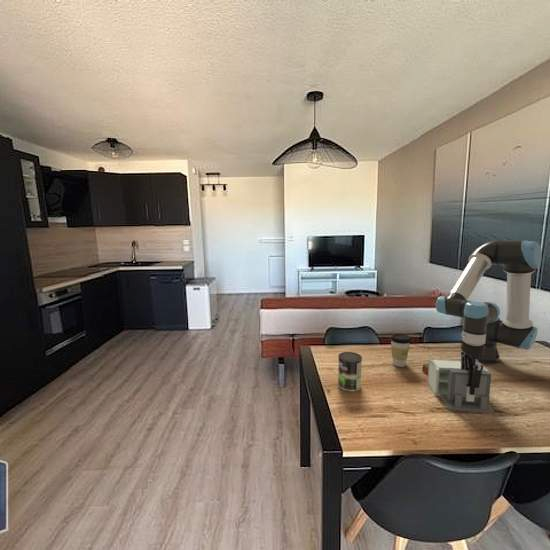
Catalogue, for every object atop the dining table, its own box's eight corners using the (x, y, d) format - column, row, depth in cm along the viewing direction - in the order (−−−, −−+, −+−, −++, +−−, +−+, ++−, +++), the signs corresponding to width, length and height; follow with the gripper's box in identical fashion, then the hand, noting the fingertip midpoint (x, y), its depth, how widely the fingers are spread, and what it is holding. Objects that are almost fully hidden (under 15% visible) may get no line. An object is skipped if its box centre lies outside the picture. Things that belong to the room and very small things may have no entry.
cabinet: (475, 386, 135) (478, 361, 133) (499, 413, 116) (503, 384, 114) (427, 383, 138) (429, 358, 136) (443, 409, 119) (445, 381, 117)
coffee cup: (412, 368, 153) (414, 340, 151) (393, 368, 153) (394, 340, 151) (405, 359, 163) (406, 332, 160) (386, 359, 163) (387, 333, 161)
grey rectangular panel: (485, 399, 121) (488, 371, 119) (488, 403, 118) (491, 374, 116) (447, 396, 123) (449, 368, 121) (449, 400, 121) (452, 372, 119)
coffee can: (346, 393, 132) (347, 363, 129) (333, 382, 141) (333, 354, 139) (366, 388, 136) (367, 358, 133) (352, 378, 145) (352, 350, 143)
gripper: (454, 334, 125) (449, 387, 129) (471, 350, 110) (466, 409, 114) (474, 335, 124) (469, 388, 128) (494, 351, 108) (488, 411, 112)
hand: (467, 398), depth 121 cm, fingers closed on grey rectangular panel, 3 cm apart
